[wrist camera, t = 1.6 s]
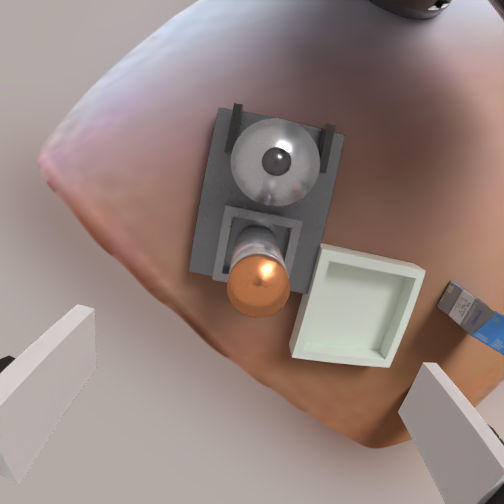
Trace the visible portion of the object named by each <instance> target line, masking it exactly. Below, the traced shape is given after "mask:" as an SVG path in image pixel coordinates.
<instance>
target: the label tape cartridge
mask: <svg viewBox="0 0 504 504" xmlns="http://www.w3.org/2000/svg"><path fill="white" fill-rule="evenodd" d="M437 307H438V308H440V309H441V310H442V311H443V312H445V313H446V314H447V315H448V316H450V317H451V318H452V319H453V320H454V321H455V322H456V323H457V324H459V325H460V326H461V327H462V328H463V329H464V330H465V331H466V332H467V333H469V334H470V335H471V336H473V337H474V338H476V339H478V340H479V341H481V342H483V343H485V344H486V345H488V346H490V347H491V348H493V349H494V350H496V351H498V352H500V353H501V354H503V355H504V315H502V314H500V313H498V312H496V311H494V310H493V309H491V308H490V307H489V306H487V305H486V304H485V303H483V302H482V301H481V300H479V299H478V298H476V297H474V296H473V295H472V294H470V293H469V292H467V291H466V290H464V289H463V288H462V287H460V286H459V285H457V284H456V283H454V282H453V281H450V283H449V284H448V286H447V288H446V290H445V291H444V293H443V295H442V297H441V298H440V300H439V302H438V304H437Z"/></svg>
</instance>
